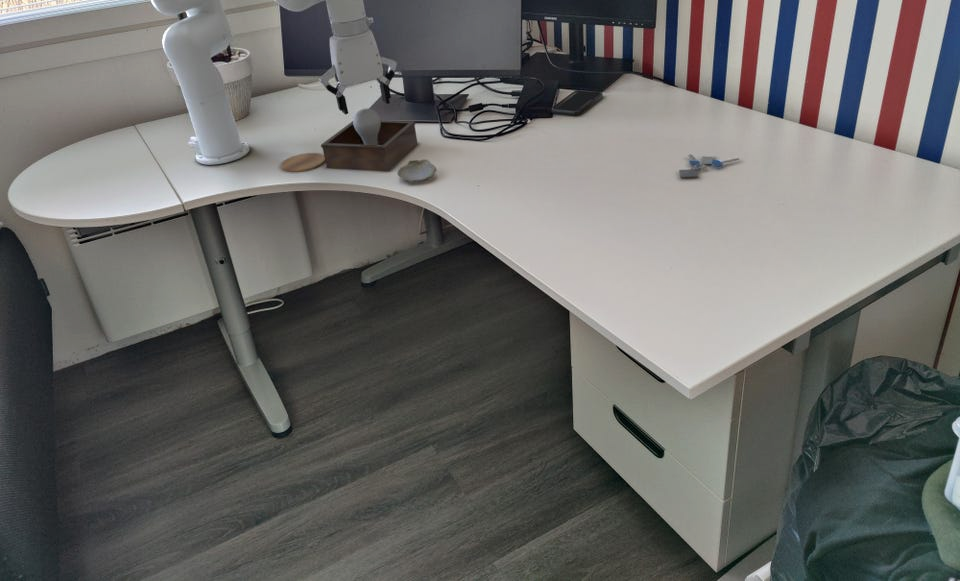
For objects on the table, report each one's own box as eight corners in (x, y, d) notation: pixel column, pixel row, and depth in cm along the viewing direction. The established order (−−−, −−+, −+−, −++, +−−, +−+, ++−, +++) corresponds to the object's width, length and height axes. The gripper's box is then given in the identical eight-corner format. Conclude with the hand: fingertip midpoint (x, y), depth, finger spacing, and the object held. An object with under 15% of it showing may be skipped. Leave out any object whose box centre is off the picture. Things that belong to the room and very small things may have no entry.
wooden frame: (325, 168, 166) (320, 144, 163) (358, 141, 178) (354, 119, 175) (388, 171, 161) (384, 147, 158) (418, 144, 173) (415, 121, 170)
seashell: (400, 192, 155) (434, 184, 152) (393, 181, 153) (428, 172, 150) (408, 170, 161) (441, 162, 158) (402, 159, 159) (435, 150, 156)
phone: (549, 108, 181) (576, 89, 192) (550, 113, 182) (576, 94, 192) (579, 111, 177) (604, 92, 188) (579, 116, 178) (604, 96, 188)
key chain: (688, 181, 142) (688, 177, 141) (658, 169, 148) (658, 165, 147) (740, 161, 147) (740, 157, 147) (709, 150, 153) (709, 146, 153)
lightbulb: (389, 157, 168) (381, 110, 162) (363, 163, 166) (354, 116, 160) (382, 148, 173) (374, 102, 167) (357, 154, 171) (348, 108, 165)
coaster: (273, 170, 168) (272, 169, 168) (296, 153, 176) (296, 152, 175) (311, 173, 164) (310, 171, 164) (333, 155, 172) (332, 154, 172)
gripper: (383, 17, 160) (396, 94, 169) (305, 33, 155) (323, 112, 164) (394, 22, 154) (408, 102, 163) (314, 39, 149) (332, 121, 158)
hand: (365, 107), depth 163 cm, fingers open, 9 cm apart
